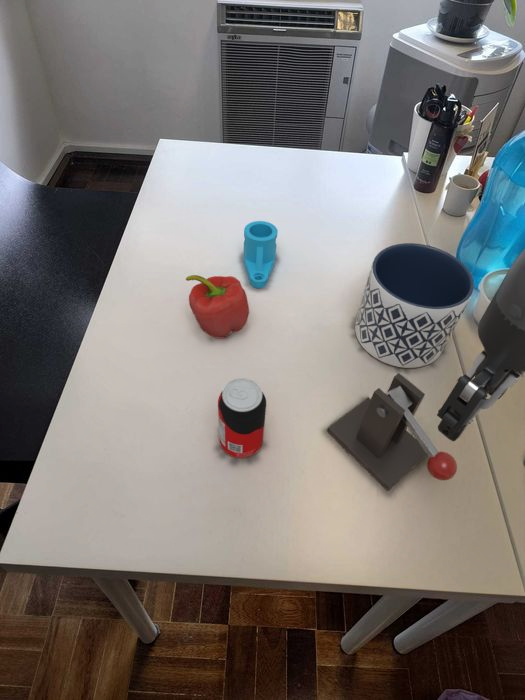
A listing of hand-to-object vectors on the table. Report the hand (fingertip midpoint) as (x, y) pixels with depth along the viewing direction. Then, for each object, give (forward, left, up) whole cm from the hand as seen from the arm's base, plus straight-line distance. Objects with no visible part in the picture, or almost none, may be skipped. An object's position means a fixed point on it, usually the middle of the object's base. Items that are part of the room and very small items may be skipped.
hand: (469, 412), depth 51 cm
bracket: (+17, -48, -19) cm, 55 cm away
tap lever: (+2, -4, -12) cm, 12 cm away
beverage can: (+24, -9, -19) cm, 32 cm away
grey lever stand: (+4, -7, -19) cm, 20 cm away
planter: (-6, -28, -19) cm, 34 cm away
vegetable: (+26, -33, -19) cm, 46 cm away
